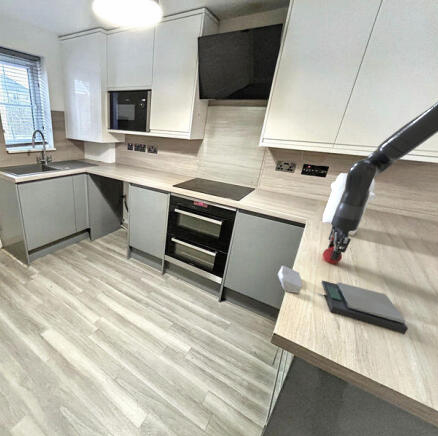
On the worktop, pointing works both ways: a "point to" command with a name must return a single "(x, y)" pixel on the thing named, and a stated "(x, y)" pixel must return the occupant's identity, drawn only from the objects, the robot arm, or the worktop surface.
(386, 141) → the robot arm
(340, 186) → the white stepped block
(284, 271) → the light grey faceted block
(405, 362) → the worktop surface
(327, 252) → the onion
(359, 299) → the scale plate
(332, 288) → the scale
